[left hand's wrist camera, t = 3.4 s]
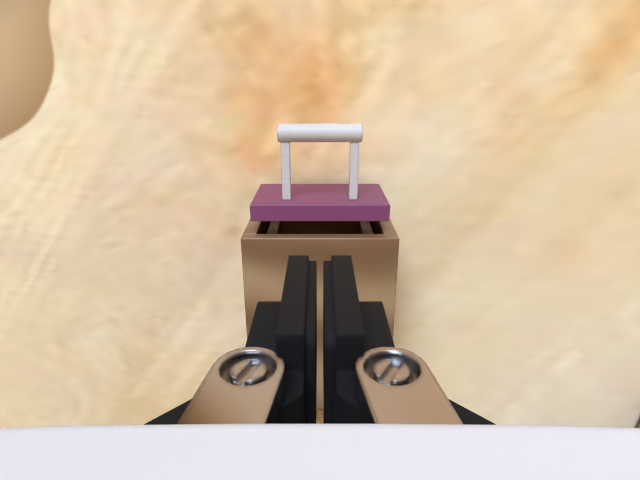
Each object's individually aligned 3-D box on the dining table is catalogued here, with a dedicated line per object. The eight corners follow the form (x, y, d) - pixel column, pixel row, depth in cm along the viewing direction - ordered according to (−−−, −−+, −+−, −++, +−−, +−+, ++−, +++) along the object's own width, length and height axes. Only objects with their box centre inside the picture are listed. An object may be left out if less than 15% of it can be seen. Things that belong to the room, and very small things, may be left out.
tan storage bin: (256, 205, 39) (240, 238, 31) (383, 205, 39) (399, 238, 31) (263, 350, 44) (251, 410, 36) (376, 350, 44) (388, 410, 36)
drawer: (257, 117, 35) (245, 126, 29) (382, 117, 35) (394, 126, 29) (267, 325, 42) (258, 367, 36) (372, 325, 42) (381, 367, 36)
